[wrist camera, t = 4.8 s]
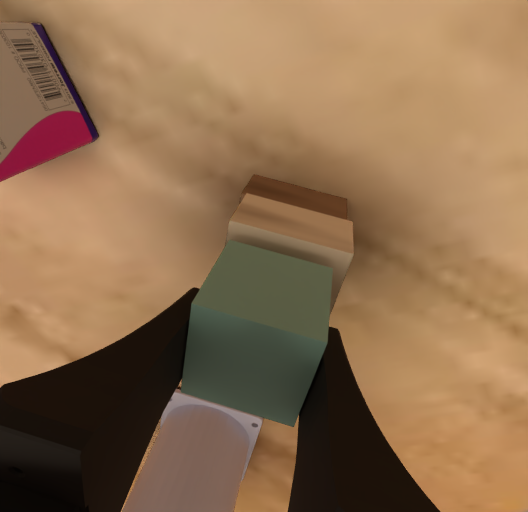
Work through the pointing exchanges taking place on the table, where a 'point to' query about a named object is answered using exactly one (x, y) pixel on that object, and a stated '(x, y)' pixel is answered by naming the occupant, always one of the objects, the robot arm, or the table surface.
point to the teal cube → (258, 332)
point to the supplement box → (36, 102)
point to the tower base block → (296, 196)
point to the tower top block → (295, 234)
